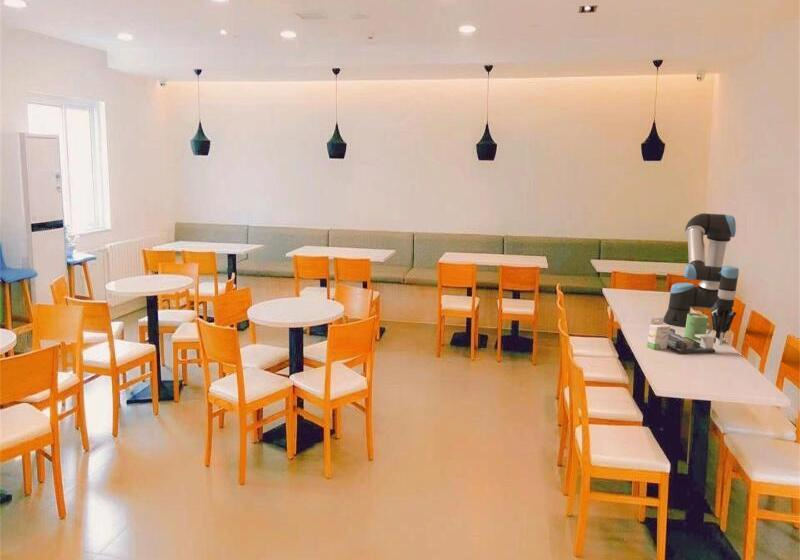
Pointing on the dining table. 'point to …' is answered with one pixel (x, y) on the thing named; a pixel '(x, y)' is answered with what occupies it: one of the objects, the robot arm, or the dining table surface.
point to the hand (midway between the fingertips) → (718, 344)
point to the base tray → (682, 351)
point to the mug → (696, 325)
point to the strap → (680, 338)
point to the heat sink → (675, 341)
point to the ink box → (658, 334)
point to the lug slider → (706, 340)
